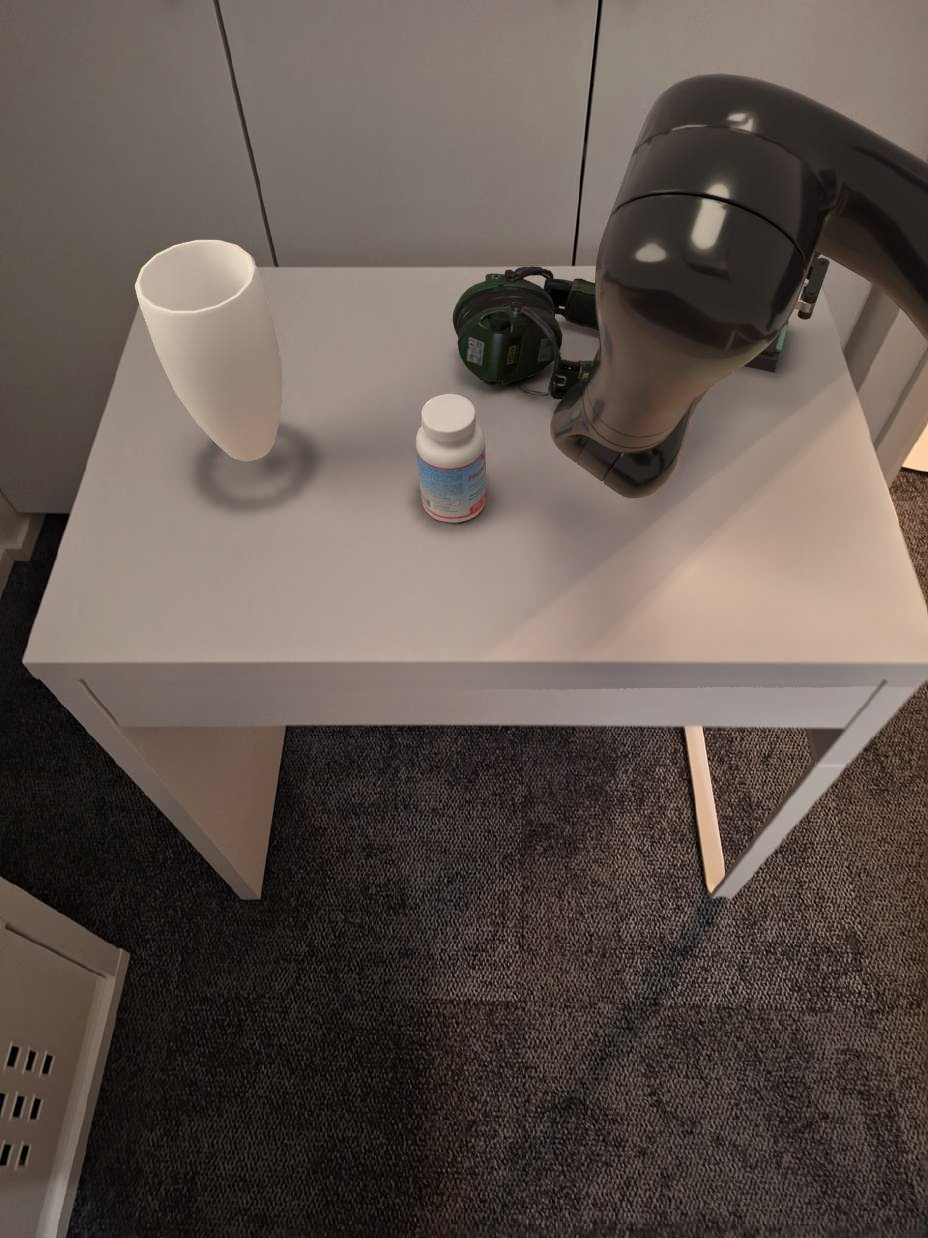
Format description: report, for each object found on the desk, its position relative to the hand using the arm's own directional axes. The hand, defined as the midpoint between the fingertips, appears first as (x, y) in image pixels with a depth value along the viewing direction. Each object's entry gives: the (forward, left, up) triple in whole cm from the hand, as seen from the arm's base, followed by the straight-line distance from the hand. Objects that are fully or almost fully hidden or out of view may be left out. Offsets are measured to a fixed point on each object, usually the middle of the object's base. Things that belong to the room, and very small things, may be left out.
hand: (787, 227), depth 88 cm
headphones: (+19, +12, -12) cm, 26 cm away
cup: (+42, +35, -12) cm, 56 cm away
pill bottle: (+22, +33, -13) cm, 41 cm away
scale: (+1, +2, -12) cm, 13 cm away
